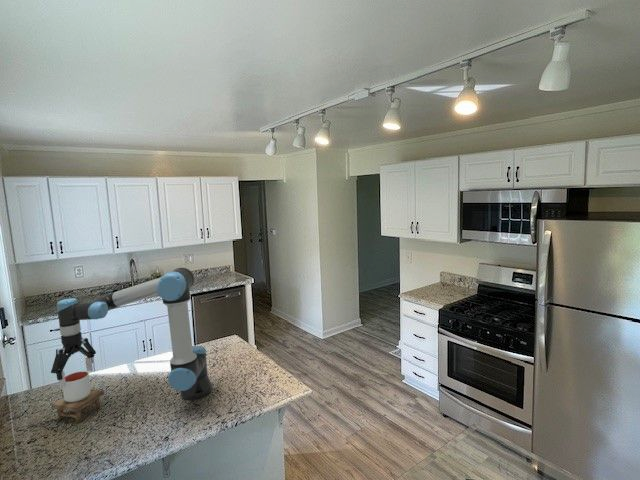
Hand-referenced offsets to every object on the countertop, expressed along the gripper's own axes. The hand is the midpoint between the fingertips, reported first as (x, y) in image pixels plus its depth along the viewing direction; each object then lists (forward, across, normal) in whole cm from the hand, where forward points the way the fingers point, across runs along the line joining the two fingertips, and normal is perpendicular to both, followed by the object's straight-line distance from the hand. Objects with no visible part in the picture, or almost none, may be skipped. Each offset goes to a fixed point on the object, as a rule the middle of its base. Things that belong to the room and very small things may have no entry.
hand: (77, 378), depth 159 cm
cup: (+9, 0, -1) cm, 9 cm away
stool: (+17, 0, -1) cm, 17 cm away
